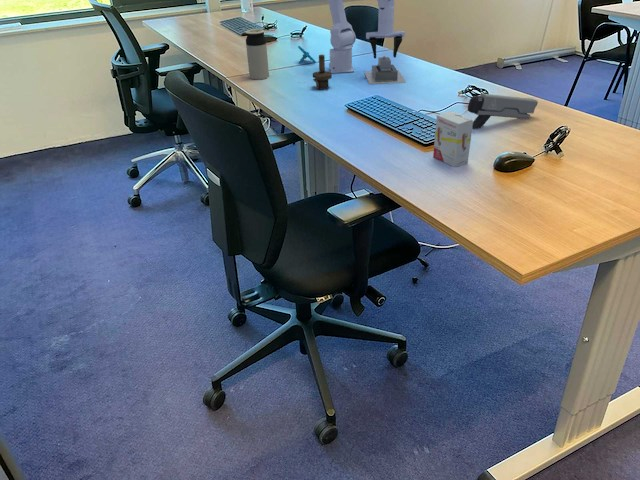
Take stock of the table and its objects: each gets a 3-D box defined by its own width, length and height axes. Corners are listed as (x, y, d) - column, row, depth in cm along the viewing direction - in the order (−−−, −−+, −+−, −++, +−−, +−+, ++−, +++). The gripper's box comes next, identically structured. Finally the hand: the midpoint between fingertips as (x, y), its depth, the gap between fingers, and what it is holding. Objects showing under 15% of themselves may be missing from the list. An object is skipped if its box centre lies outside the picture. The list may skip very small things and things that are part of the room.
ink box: (431, 156, 139) (435, 114, 132) (445, 152, 141) (450, 110, 134) (454, 167, 132) (459, 123, 126) (468, 163, 134) (474, 119, 128)
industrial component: (315, 91, 192) (314, 58, 186) (309, 86, 198) (308, 54, 192) (339, 88, 195) (338, 55, 188) (332, 83, 201) (332, 51, 194)
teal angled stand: (317, 61, 224) (300, 45, 220) (308, 72, 225) (290, 56, 222) (316, 59, 234) (299, 43, 230) (307, 69, 235) (290, 53, 232)
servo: (380, 79, 200) (381, 60, 196) (377, 73, 208) (377, 54, 204) (391, 79, 200) (391, 59, 196) (387, 72, 208) (387, 53, 205)
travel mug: (273, 76, 212) (269, 30, 202) (258, 81, 207) (253, 33, 197) (260, 73, 217) (255, 28, 207) (245, 77, 212) (240, 31, 202)
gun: (459, 125, 154) (470, 92, 150) (522, 129, 165) (533, 98, 160) (464, 128, 152) (475, 94, 148) (528, 132, 163) (539, 100, 158)
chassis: (369, 84, 198) (369, 74, 196) (364, 73, 211) (364, 64, 209) (405, 82, 198) (406, 72, 196) (398, 71, 211) (398, 62, 209)
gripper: (368, 22, 189) (367, 60, 197) (407, 20, 190) (405, 58, 197) (365, 19, 195) (365, 56, 203) (403, 17, 196) (401, 54, 203)
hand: (384, 57), depth 200 cm, fingers open, 7 cm apart
